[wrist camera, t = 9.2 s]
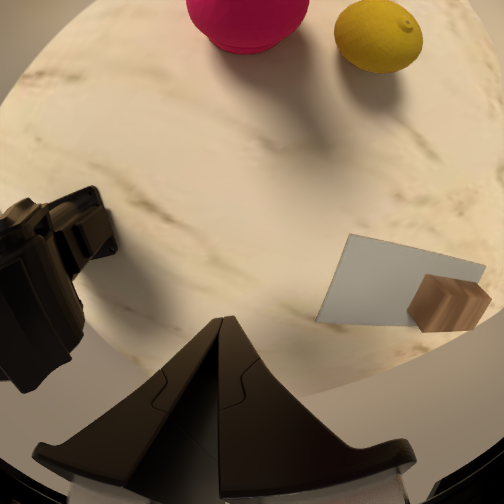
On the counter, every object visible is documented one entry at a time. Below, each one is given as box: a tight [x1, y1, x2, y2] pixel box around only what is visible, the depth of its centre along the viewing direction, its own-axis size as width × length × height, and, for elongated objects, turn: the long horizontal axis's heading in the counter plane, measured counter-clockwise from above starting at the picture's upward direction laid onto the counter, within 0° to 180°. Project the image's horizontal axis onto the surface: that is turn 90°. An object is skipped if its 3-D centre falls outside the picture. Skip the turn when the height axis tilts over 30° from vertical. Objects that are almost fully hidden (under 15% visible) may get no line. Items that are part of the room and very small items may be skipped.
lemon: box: [334, 0, 423, 73], centre depth 12 cm, size 6×6×8 cm
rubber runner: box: [315, 234, 486, 326], centre depth 26 cm, size 23×10×1 cm, turn 79°
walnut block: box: [407, 274, 492, 333], centre depth 25 cm, size 4×5×11 cm
